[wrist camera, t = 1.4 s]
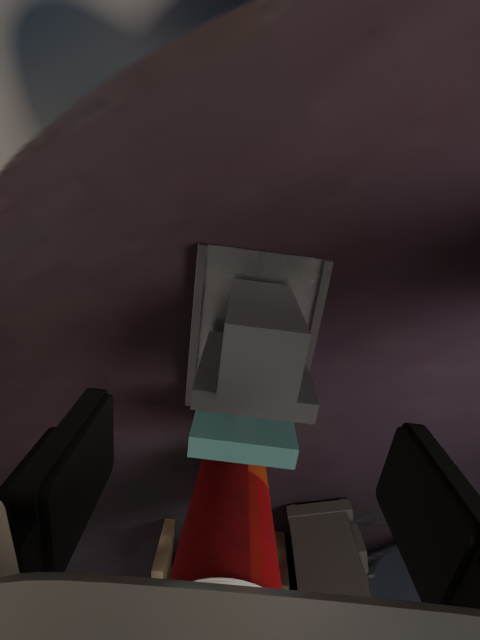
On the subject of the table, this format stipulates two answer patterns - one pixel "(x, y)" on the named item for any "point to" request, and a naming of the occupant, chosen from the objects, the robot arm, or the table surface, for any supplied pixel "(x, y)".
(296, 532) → the cassette tape recorder
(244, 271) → the track
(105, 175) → the table surface
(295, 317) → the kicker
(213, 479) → the paper cup
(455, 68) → the table surface
